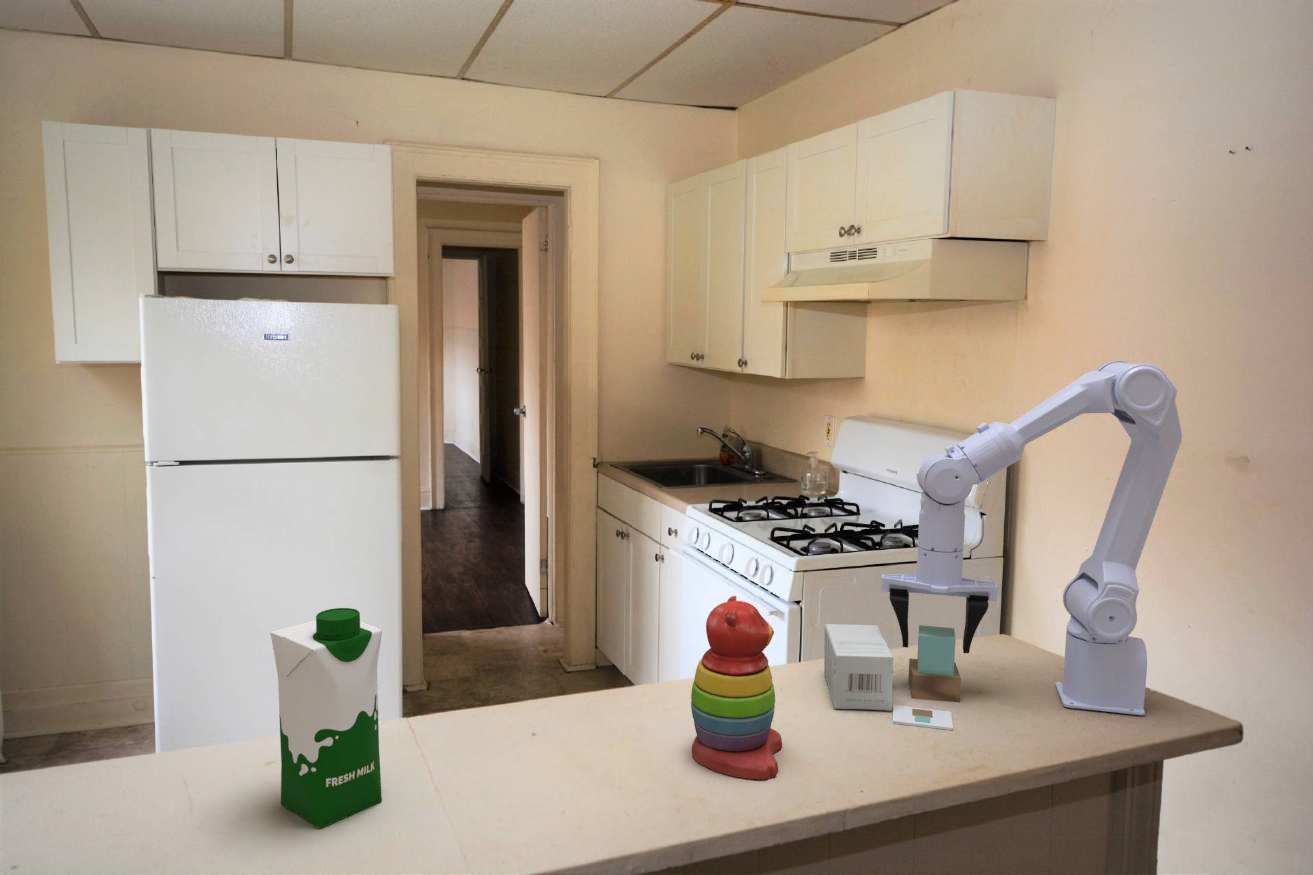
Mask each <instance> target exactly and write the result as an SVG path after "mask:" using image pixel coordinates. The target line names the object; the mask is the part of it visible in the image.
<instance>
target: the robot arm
mask: <svg viewBox="0 0 1313 875" xmlns="http://www.w3.org/2000/svg"><path fill="white" fill-rule="evenodd" d="M1177 393H1178V389H1177V387H1176V386H1175V385H1174V384H1173V382H1172V381H1171V379H1170V378H1169V377H1168V376H1167V374H1166V372H1164V371H1163V370H1162V369H1161V368H1160V367H1158V366H1156V365H1153V364H1151V363H1131V362H1127V361H1123V360H1112V361H1110V362H1106V363H1105V364H1103V365H1101V366H1100V367H1099V368H1098V369H1097V370H1091V371H1088V372H1087V373H1084V374H1083V375H1081V376H1080V377H1078V378H1077V379H1076V380H1074V381H1073V382H1071V383H1070V384H1068V385H1067V386H1064V387H1063V388H1062V389H1060V390H1059V391H1057V392H1056V393H1054V394H1053V395H1051V396H1050V397H1048V398H1047V399H1045V400H1044V401H1042V402H1040V403H1039V404H1038V405H1036V406H1035V407H1033V408H1032V409H1030V410H1029V411H1026V413H1024V414H1022V415H1021V416H1020V417H1018V418H1017V419H1015V420H1013V421H1012V422H1011V423H1007V422H1006V423H1005V422H1001V421H997V420H996V421H993V422H992V423H990V424H989V423H987V422H984V421H983V422H982V423H981V424H979V425H977V426H976V430H977V432H975V433H974V434H972V435H970V436H968V437H967V438H965V439H964V440H962V441H960V442H958V443H957V444H956V445H953V444H949V445H947V446H945V447H944V450H945V452H946V454H943V453H942V454H934V455H932V456H930V457H928V458H927V459H926V460H924V461H923V463H922V464H921V467H919V470H918V472H917V473H916V481H917V484H918V486H919V487H920V489H921V490H922V492H921V495H920V496H921V498H920V510H919V515H918V516H919V517H918V538H917V555H916V556H917V557H916V558H917V559H916V573H911V574H910V573H908V574H906V573H905V574H901V573H900V574H893V573H892V574H891V573H890V574H889V573H882V574H881V588H880V589H881V590H880V591H881V592H883V593H889V602H890V604H891V607H892V609H893V611H894V613H895V616H896V618H897V623H898V625H899V628H900V633H901V634H900V635H901V640H902V648H909V602H910V599H909V598H910V593H912V594H913V593H914V594H924V595H926V594H927V595H937V596H947V597H948V596H950V597H961V598H966V599H965V622H964V630H963V637H962V651H963V654H970V650H971V647H972V646H971V645H972V642H973V640H974V636H975V634H976V631H977V628H978V627H979V624H980V623H981V621H982V620H983V618H984V616H985V615H986V613H987V611H988V609H989V606H990V605H989V601H993V602H998V594H999V593H998V592H999V591H998V590H999V587H998V584H997V582H994V581H993V582H991V581H984V580H983V581H982V580H978V579H977V580H976V579H971V578H965V577H963V567H964V566H963V564H964V544H965V543H964V542H965V526H966V525H965V524H966V523H965V522H966V515H965V506H966V499H967V498H969V496H970V494H971V492H972V489H973V488H974V487H973V486H974V485H979V484H981V483H983V482H984V481H986V480H989V479H990V478H992V477H993V476H995V475H996V474H998V473H1000V472H1001V471H1003V470H1005V469H1006V468H1009V467H1010V466H1012V465H1013V464H1015V463H1016V462H1018V461H1020V460H1021V459H1022V456H1023V455H1024V454H1023V453H1024V450H1025V447H1026V445H1028V444H1029V443H1031V442H1033V441H1035V440H1036V439H1039V438H1040V437H1042V436H1044V435H1046V434H1047V433H1050V432H1051V431H1053V430H1055V429H1057V428H1059V427H1061V426H1062V425H1064V424H1066V423H1068V422H1070V421H1072V420H1073V419H1076V418H1078V417H1079V416H1081V415H1084V414H1112V416H1114V417H1115V418H1117V419H1118V422H1119V423H1120V424H1121V426H1122V427H1123V429H1124V431H1125V432H1126V434H1127V435H1128V437H1129V438H1130V441H1131V442H1130V443H1129V444H1130V445H1129V448H1128V450H1127V453H1126V456H1125V460H1124V462H1123V465H1122V466H1121V469H1120V470H1121V471H1120V473H1119V475H1118V480H1117V482H1116V485H1115V488H1114V490H1113V494H1112V497H1111V500H1110V502H1109V505H1108V508H1107V511H1106V514H1105V517H1104V519H1103V523H1102V525H1101V528H1100V530H1099V533H1098V537H1097V540H1096V542H1095V545H1094V549H1093V551H1092V553H1091V555H1090V556H1089V557H1087V559H1085V560H1084V561H1083V562H1082V563H1081V564H1080V567H1079V568H1078V571H1077V574H1076V575H1075V576H1074V577H1073V579H1071V580H1070V581H1069V582H1068V583H1067V585H1066V586H1065V588H1064V590H1063V594H1062V602H1063V603H1062V604H1063V606H1064V609H1065V610H1066V611H1067V613H1068V614H1069V615H1070V617H1069V618H1070V619H1069V621H1068V623H1067V625H1066V631H1065V633H1066V634H1065V648H1064V661H1063V673H1062V674H1063V676H1062V681H1055V683H1054V684H1055V685H1054V686H1055V688H1056V691H1057V693H1058V695H1059V698H1060V700H1061V704H1062V706H1063V707H1066V708H1071V709H1072V708H1073V709H1078V710H1079V709H1080V710H1081V709H1082V710H1090V711H1100V712H1108V713H1109V712H1110V713H1118V714H1125V715H1127V714H1128V715H1135V716H1136V715H1137V716H1145V714H1146V712H1145V699H1146V685H1147V675H1148V672H1147V671H1148V655H1147V654H1148V653H1147V652H1148V651H1147V647H1146V643H1145V640H1144V639H1143V638H1141V637H1136V636H1129V635H1131V634H1132V632H1133V631H1134V629H1135V627H1136V624H1137V623H1138V622H1137V621H1138V614H1137V613H1138V612H1137V607H1136V605H1137V603H1136V602H1137V599H1138V595H1139V592H1140V591H1139V590H1140V589H1139V583H1138V578H1137V573H1136V572H1137V571H1136V569H1137V566H1138V563H1139V561H1140V558H1141V556H1142V553H1143V551H1144V550H1143V549H1144V547H1145V545H1146V541H1147V538H1148V535H1149V533H1150V530H1151V527H1152V525H1153V523H1154V519H1155V516H1156V513H1157V510H1158V508H1159V505H1160V502H1161V499H1162V496H1163V493H1164V491H1165V488H1166V485H1167V482H1168V479H1169V476H1170V474H1171V471H1172V468H1173V466H1174V463H1175V460H1176V457H1177V454H1178V451H1179V449H1180V445H1181V444H1182V443H1181V442H1182V437H1183V433H1182V427H1181V422H1180V418H1179V413H1178V408H1177V403H1176V398H1177Z"/></svg>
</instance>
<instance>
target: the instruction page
mask: <svg viewBox="0 0 1313 875" xmlns="http://www.w3.org/2000/svg"><path fill="white" fill-rule="evenodd" d="M892 710H893V711H892V713H893V714H892V715H893V716H892V724H895V725H896V724H897V725H903V726H904V725H905V726H914V727H919V728H920V727H921V728H928V729H929V728H930V729H936V730H937V729H938V730H947V731H953V730H954V727H953V717H952V716H953V715H952V711H948V710H938V709H933V708H932V709H931V708H923V707H921V708H920V707H913V706H904V705H896V704H895V705H893V709H892Z"/></svg>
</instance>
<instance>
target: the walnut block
mask: <svg viewBox="0 0 1313 875" xmlns="http://www.w3.org/2000/svg"><path fill="white" fill-rule="evenodd" d="M917 659H918V658H909V659H908V661H909V662H908V676H907V677H908V679H907V680H908V681H907V682H908V683H907V684H908V687H909V691H910V696H911V699H912V700H913V699H914V700H925V701H934V702H935V701H938V702H949V703H950V702H951V703H961V686H962V685H961V684H962V677H961V675H960V672H959V668H958V666H957V664H956V662H955V661H954V676H946V675H936V674H927V673H918V669H917Z"/></svg>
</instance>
